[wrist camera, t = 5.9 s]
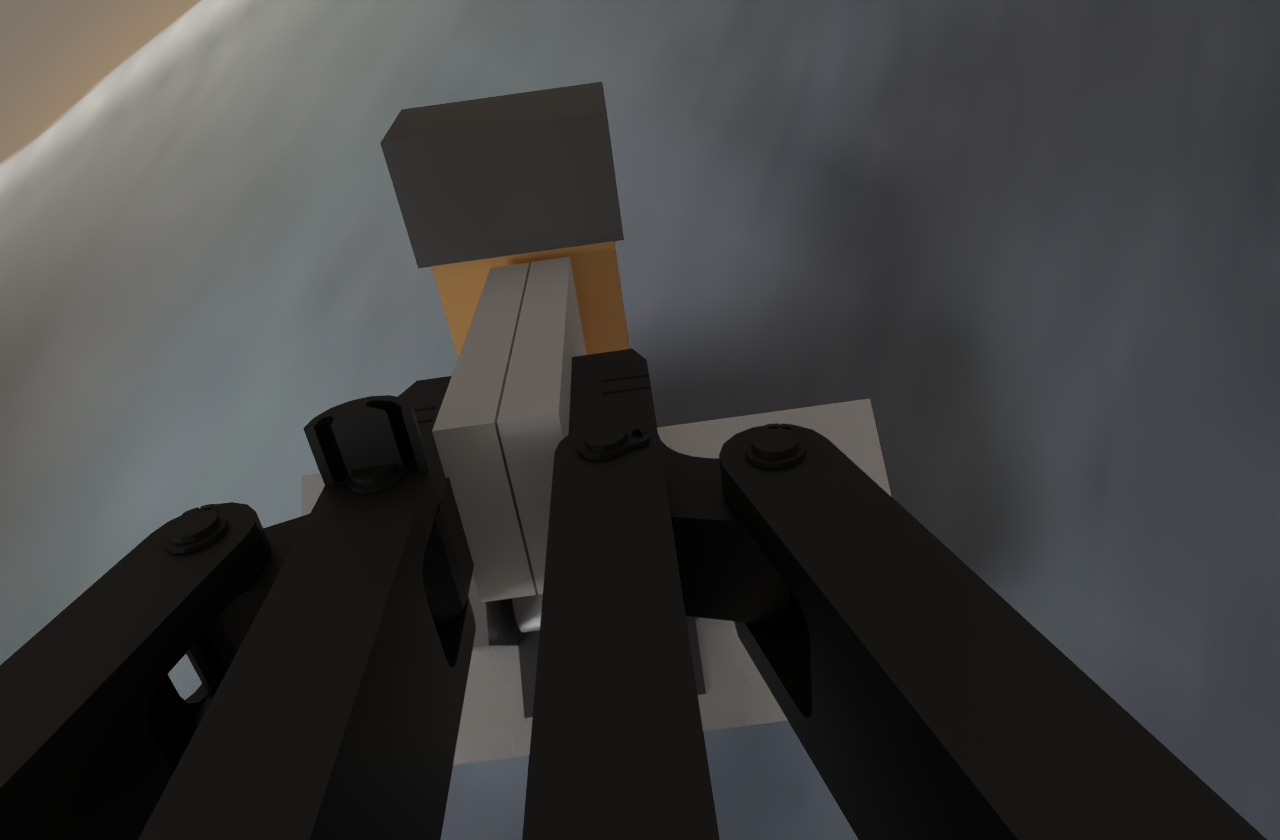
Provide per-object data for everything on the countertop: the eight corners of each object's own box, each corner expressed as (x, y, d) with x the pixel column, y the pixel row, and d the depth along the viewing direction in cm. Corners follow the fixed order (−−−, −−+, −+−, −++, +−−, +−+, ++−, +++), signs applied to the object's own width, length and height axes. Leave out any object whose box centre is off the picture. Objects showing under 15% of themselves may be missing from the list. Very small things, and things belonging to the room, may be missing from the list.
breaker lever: (683, 629, 22) (618, 111, 14) (525, 650, 22) (368, 145, 14) (673, 565, 24) (611, 79, 16) (529, 585, 24) (393, 109, 16)
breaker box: (883, 689, 28) (990, 711, 19) (380, 756, 28) (228, 813, 19) (833, 445, 31) (905, 353, 21) (371, 507, 31) (233, 445, 21)
